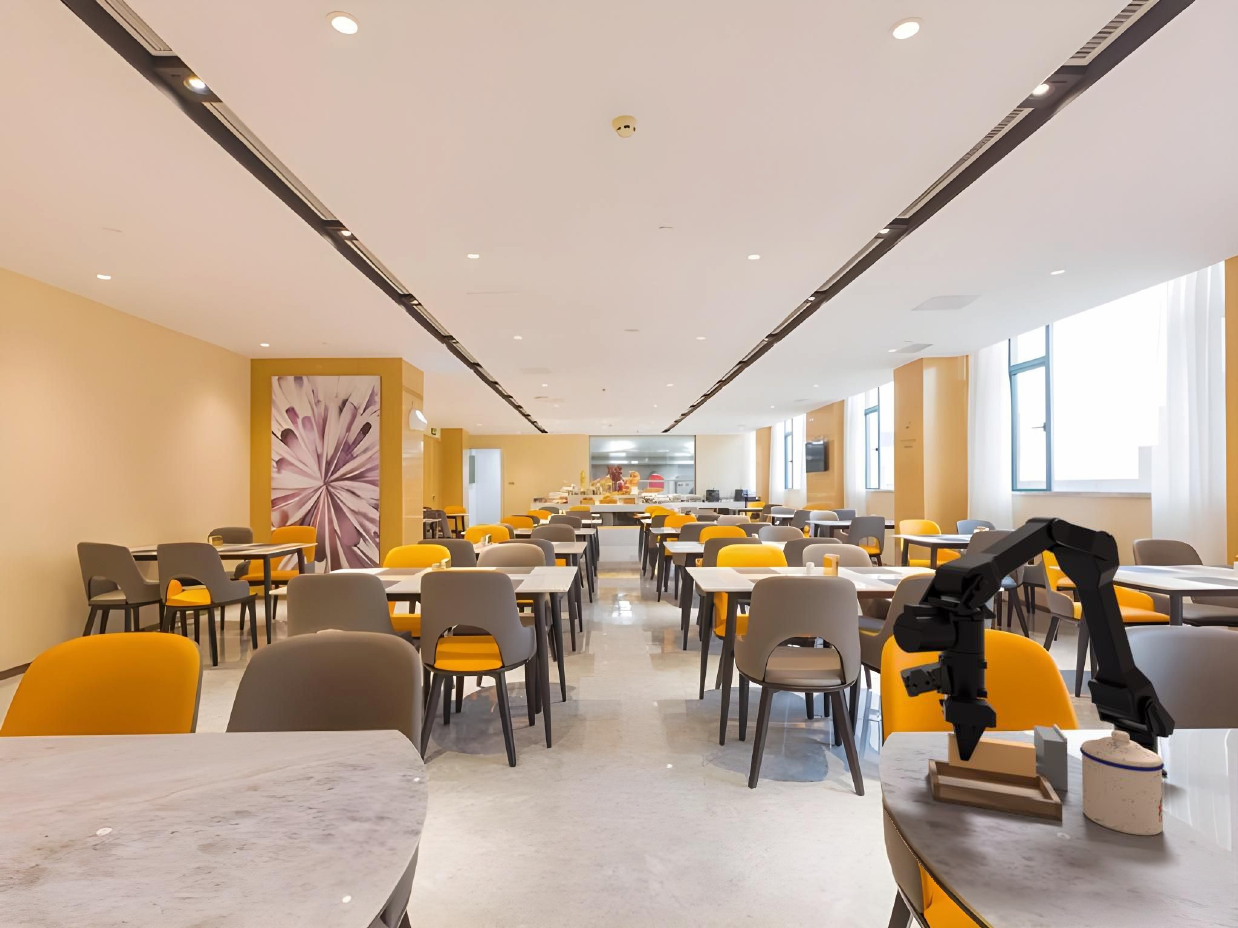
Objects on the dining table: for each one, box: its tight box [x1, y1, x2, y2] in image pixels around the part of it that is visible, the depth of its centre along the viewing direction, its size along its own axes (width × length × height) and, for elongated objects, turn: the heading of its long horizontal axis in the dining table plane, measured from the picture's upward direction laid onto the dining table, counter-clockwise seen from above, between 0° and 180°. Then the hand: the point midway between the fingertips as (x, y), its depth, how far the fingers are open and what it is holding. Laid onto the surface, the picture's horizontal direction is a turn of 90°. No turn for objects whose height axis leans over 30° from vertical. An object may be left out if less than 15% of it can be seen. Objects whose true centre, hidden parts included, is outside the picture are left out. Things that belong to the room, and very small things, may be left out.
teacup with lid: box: [1079, 729, 1165, 836], centre depth 93 cm, size 12×9×12 cm
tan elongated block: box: [947, 732, 1036, 777], centre depth 99 cm, size 2×11×4 cm, turn 69°
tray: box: [928, 758, 1063, 822], centre depth 99 cm, size 11×16×2 cm
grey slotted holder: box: [1033, 723, 1069, 792], centre depth 105 cm, size 7×7×8 cm
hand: (963, 757), depth 100 cm, fingers closed on tan elongated block, 2 cm apart
